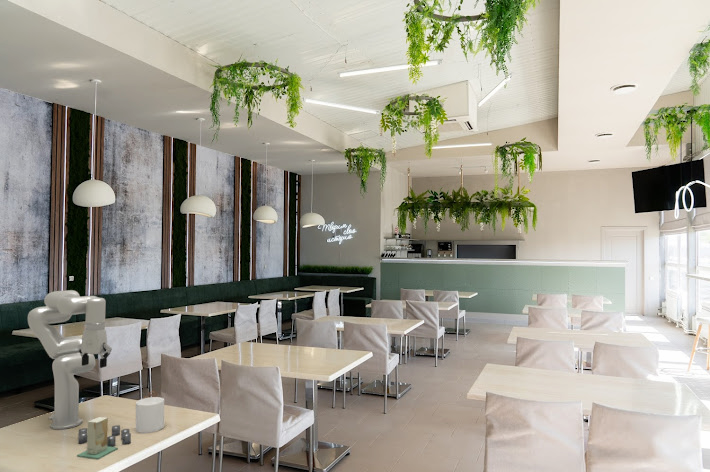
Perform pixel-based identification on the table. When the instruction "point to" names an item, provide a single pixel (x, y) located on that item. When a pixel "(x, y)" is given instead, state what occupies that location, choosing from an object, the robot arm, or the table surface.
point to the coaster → (100, 454)
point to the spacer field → (111, 439)
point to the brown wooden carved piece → (150, 395)
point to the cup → (149, 415)
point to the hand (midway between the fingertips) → (94, 366)
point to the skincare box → (97, 435)
